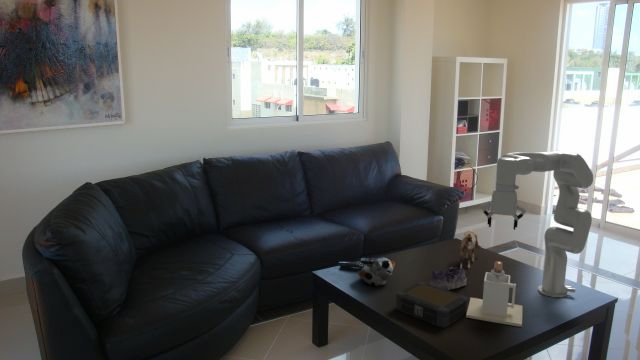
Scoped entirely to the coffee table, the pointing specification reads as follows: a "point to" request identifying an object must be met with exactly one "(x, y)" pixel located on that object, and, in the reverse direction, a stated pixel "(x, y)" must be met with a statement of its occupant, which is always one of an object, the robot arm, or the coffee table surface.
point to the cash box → (432, 304)
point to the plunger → (498, 270)
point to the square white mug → (496, 302)
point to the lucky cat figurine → (377, 271)
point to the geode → (449, 278)
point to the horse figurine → (468, 246)
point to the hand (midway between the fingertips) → (502, 227)
